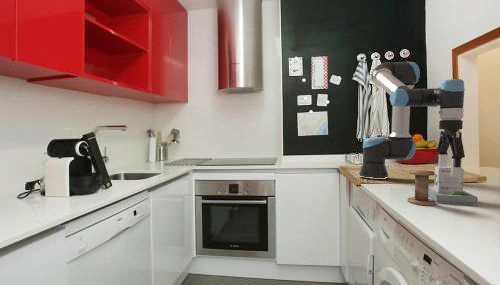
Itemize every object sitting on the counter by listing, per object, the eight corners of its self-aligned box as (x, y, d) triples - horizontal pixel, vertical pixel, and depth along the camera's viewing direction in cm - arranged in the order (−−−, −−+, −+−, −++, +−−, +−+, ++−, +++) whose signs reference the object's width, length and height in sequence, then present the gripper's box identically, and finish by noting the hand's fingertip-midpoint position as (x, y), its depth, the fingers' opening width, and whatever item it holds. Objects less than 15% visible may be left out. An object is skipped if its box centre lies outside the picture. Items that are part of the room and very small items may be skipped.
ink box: (438, 197, 110) (438, 167, 109) (433, 194, 115) (434, 165, 114) (463, 198, 108) (464, 168, 107) (457, 195, 113) (458, 166, 112)
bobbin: (405, 198, 111) (405, 169, 111) (430, 200, 109) (431, 170, 108) (411, 204, 103) (412, 172, 102) (439, 206, 100) (440, 173, 100)
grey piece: (425, 194, 119) (425, 187, 118) (460, 196, 115) (461, 189, 115) (436, 202, 105) (437, 195, 105) (477, 205, 101) (478, 197, 101)
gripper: (429, 120, 122) (427, 167, 124) (452, 119, 99) (450, 178, 100) (449, 119, 120) (447, 168, 122) (478, 118, 96) (475, 179, 98)
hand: (448, 172), depth 111 cm, fingers open, 13 cm apart
